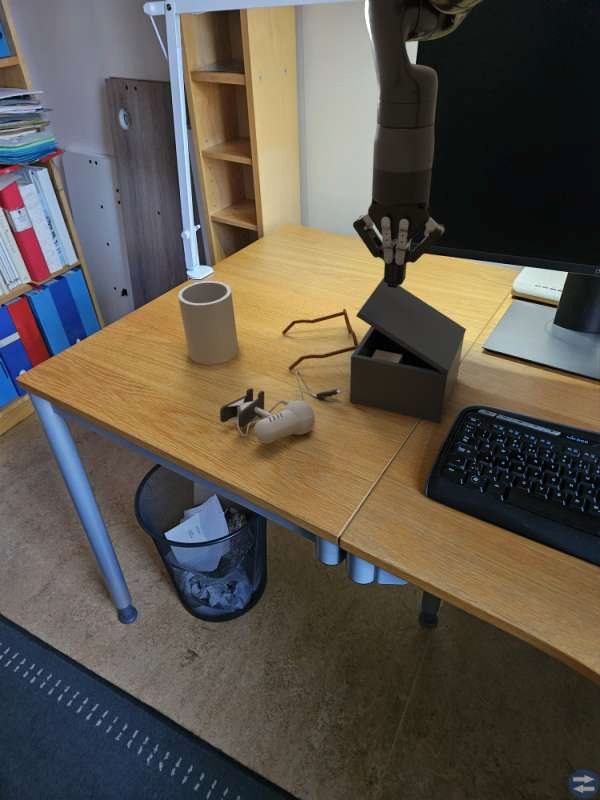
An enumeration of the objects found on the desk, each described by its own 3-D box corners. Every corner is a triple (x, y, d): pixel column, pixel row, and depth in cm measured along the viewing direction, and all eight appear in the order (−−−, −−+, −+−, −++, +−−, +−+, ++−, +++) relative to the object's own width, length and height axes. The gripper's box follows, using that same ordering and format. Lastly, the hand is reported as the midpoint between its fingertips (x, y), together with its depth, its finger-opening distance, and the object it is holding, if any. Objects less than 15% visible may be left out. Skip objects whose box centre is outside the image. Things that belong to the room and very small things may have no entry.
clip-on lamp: (297, 396, 96) (215, 428, 84) (299, 362, 94) (214, 389, 82) (350, 419, 89) (268, 457, 77) (354, 383, 87) (269, 416, 74)
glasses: (362, 364, 98) (363, 339, 95) (288, 371, 97) (287, 347, 94) (348, 327, 109) (348, 304, 106) (281, 333, 108) (279, 310, 105)
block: (400, 377, 93) (402, 354, 91) (393, 392, 90) (395, 369, 88) (375, 371, 95) (376, 349, 92) (366, 386, 92) (367, 363, 89)
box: (349, 402, 90) (350, 356, 85) (374, 361, 99) (376, 317, 94) (440, 423, 85) (447, 376, 80) (457, 378, 94) (464, 333, 89)
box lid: (355, 316, 80) (358, 312, 80) (382, 279, 89) (384, 275, 89) (445, 375, 80) (449, 371, 79) (463, 332, 89) (466, 329, 88)
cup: (246, 354, 102) (239, 295, 95) (200, 370, 99) (190, 310, 91) (225, 333, 109) (217, 276, 101) (181, 347, 105) (170, 289, 98)
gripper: (343, 165, 71) (342, 289, 81) (448, 173, 66) (433, 304, 77) (363, 150, 76) (359, 269, 87) (460, 157, 72) (445, 281, 82)
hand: (394, 285), depth 82 cm, fingers closed
